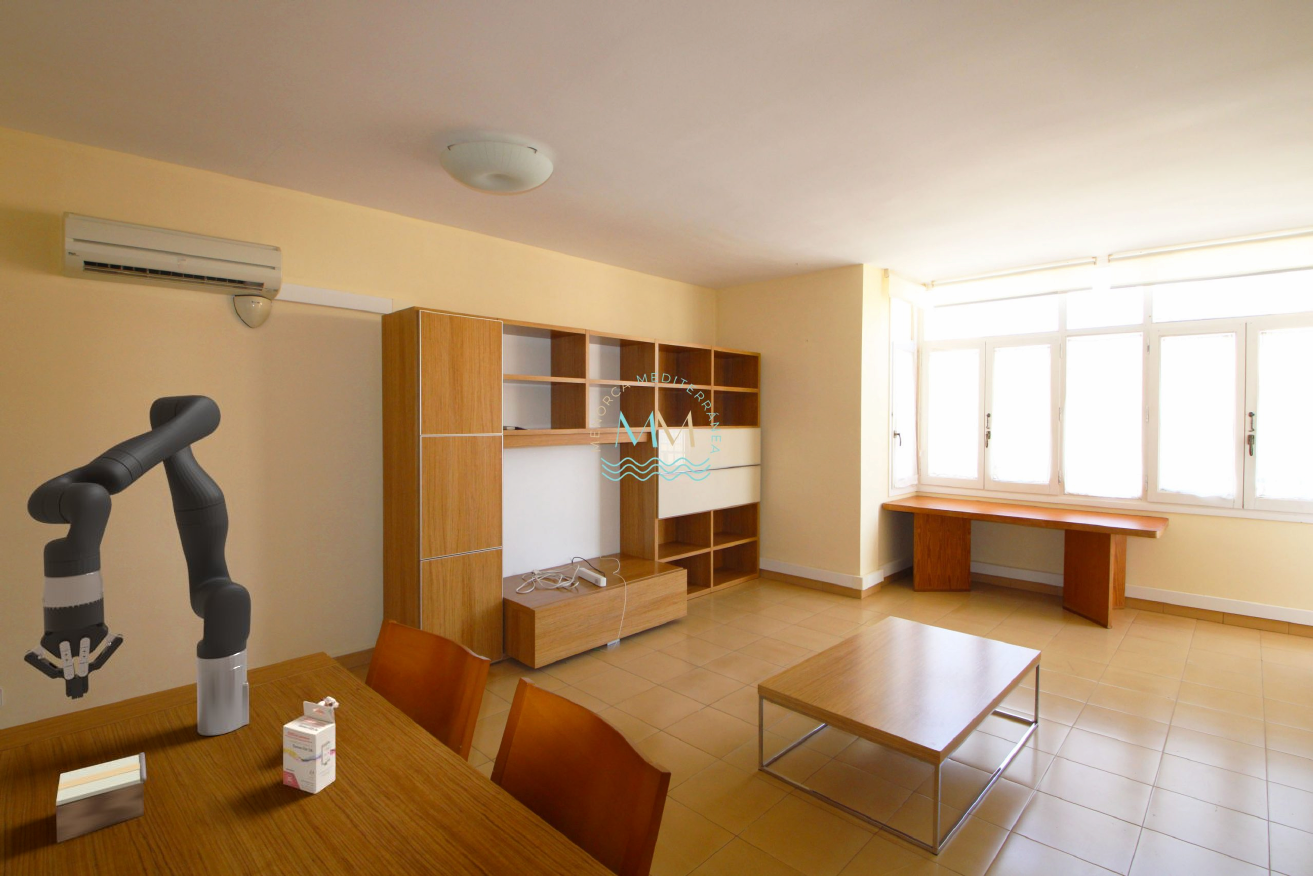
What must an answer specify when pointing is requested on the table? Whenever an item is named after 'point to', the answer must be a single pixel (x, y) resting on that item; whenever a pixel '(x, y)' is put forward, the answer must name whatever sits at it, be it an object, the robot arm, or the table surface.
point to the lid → (101, 778)
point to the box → (98, 811)
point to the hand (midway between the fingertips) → (77, 696)
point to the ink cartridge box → (310, 749)
